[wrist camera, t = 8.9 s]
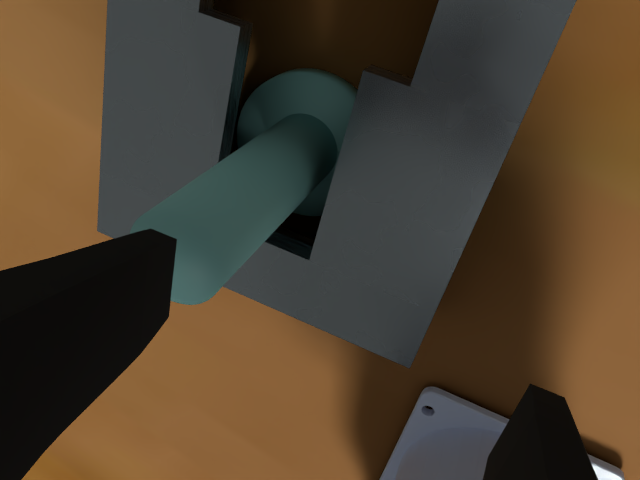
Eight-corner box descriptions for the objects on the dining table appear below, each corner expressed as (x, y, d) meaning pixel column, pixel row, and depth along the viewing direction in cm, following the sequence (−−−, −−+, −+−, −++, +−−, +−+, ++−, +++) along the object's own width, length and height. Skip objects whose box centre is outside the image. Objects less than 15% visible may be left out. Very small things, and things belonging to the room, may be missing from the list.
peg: (353, 228, 22) (247, 383, 14) (233, 173, 22) (74, 293, 15) (403, 103, 19) (304, 213, 12) (265, 44, 20) (89, 114, 12)
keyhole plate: (428, 312, 22) (409, 368, 19) (151, 195, 24) (97, 231, 21) (662, -212, 14) (689, -249, 11) (203, -323, 16) (124, -379, 13)
